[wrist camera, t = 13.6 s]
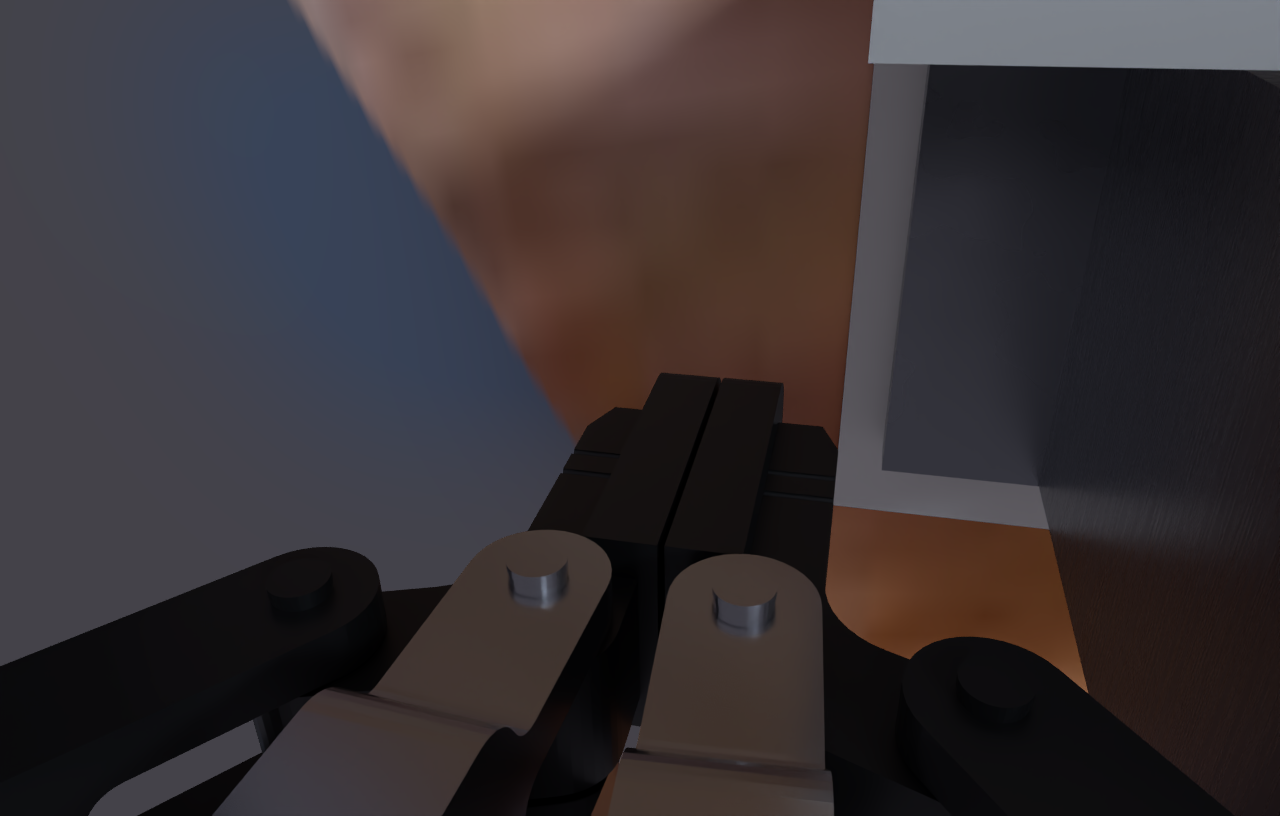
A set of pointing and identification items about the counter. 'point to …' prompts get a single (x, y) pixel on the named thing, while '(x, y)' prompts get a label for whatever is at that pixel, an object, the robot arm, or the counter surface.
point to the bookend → (1116, 374)
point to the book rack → (901, 50)
